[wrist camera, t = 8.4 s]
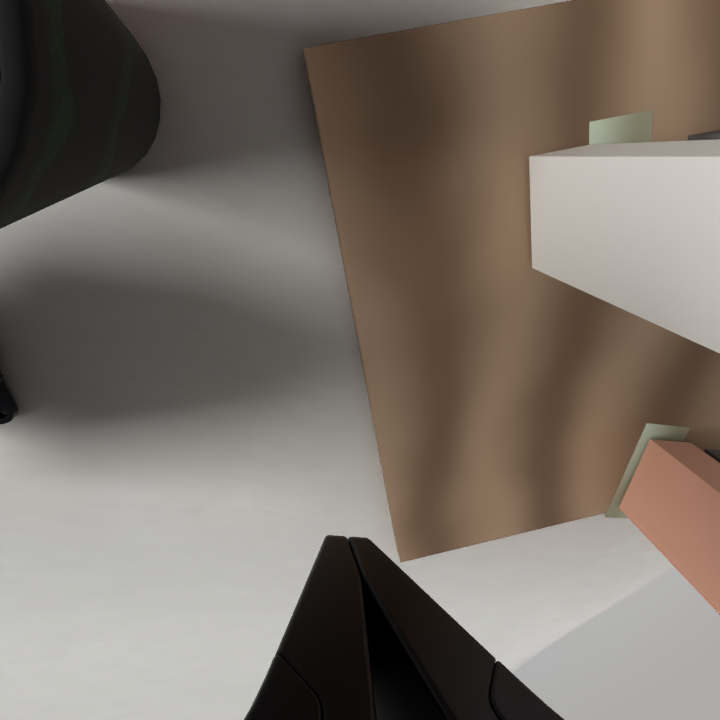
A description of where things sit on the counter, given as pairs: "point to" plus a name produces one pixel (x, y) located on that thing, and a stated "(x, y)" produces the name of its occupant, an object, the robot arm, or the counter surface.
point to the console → (507, 259)
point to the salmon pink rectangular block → (680, 510)
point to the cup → (68, 101)
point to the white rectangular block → (634, 229)
